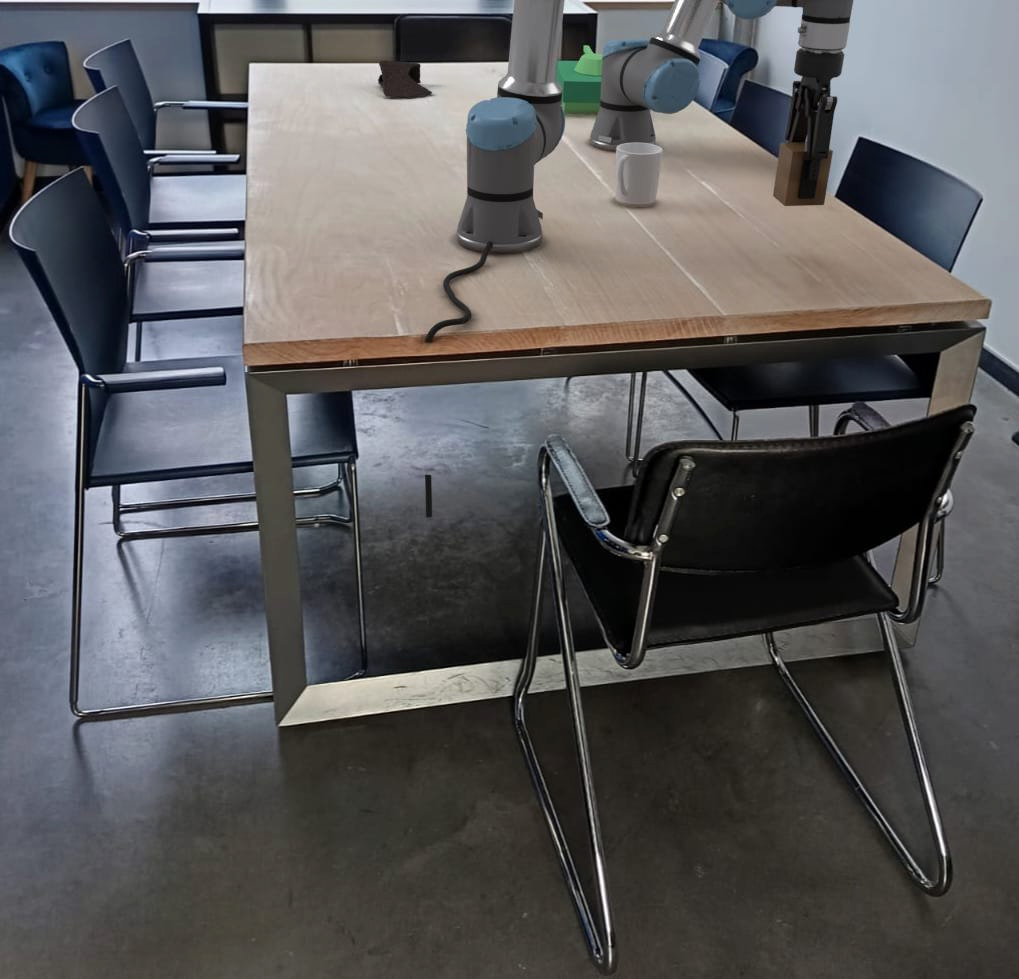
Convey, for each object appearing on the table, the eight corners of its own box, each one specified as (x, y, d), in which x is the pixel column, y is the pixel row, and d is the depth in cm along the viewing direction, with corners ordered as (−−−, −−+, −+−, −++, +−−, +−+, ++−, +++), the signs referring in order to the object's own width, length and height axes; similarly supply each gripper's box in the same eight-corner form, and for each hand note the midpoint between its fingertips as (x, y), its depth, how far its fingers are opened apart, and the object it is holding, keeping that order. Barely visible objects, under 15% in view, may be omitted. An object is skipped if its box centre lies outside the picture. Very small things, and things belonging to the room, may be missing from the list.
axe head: (443, 87, 294) (392, 77, 287) (436, 115, 299) (385, 106, 292) (421, 62, 307) (371, 52, 300) (414, 89, 311) (365, 80, 304)
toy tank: (617, 42, 302) (635, 66, 272) (613, 88, 309) (631, 117, 279) (553, 40, 301) (564, 65, 271) (551, 87, 308) (562, 116, 278)
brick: (811, 195, 191) (819, 141, 187) (824, 205, 186) (833, 150, 182) (772, 196, 191) (780, 142, 186) (784, 206, 186) (792, 151, 181)
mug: (629, 191, 223) (633, 140, 217) (666, 200, 218) (671, 148, 212) (597, 203, 215) (601, 150, 210) (635, 213, 210) (640, 159, 205)
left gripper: (778, 39, 183) (759, 177, 195) (820, 60, 167) (797, 209, 179) (821, 38, 184) (800, 176, 196) (867, 60, 168) (841, 208, 180)
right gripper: (513, -129, 215) (511, -11, 226) (532, -122, 194) (529, 7, 205) (550, -128, 216) (546, -11, 227) (574, -122, 195) (568, 7, 206)
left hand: (798, 192), depth 188 cm, fingers closed on brick, 6 cm apart
